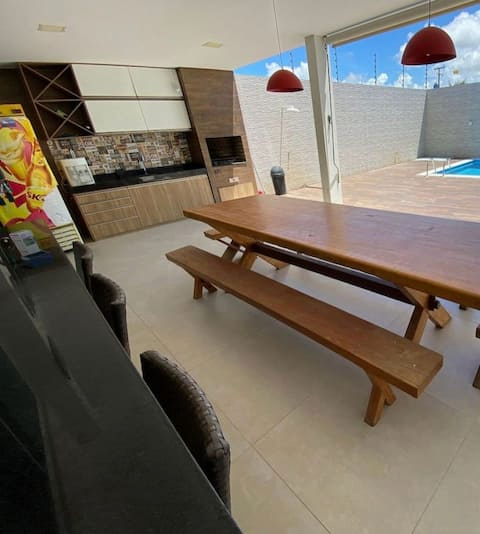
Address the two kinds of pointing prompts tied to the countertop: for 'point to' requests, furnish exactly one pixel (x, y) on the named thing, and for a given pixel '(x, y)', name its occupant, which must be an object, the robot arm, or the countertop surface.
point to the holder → (37, 259)
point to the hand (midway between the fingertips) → (8, 203)
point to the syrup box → (25, 242)
